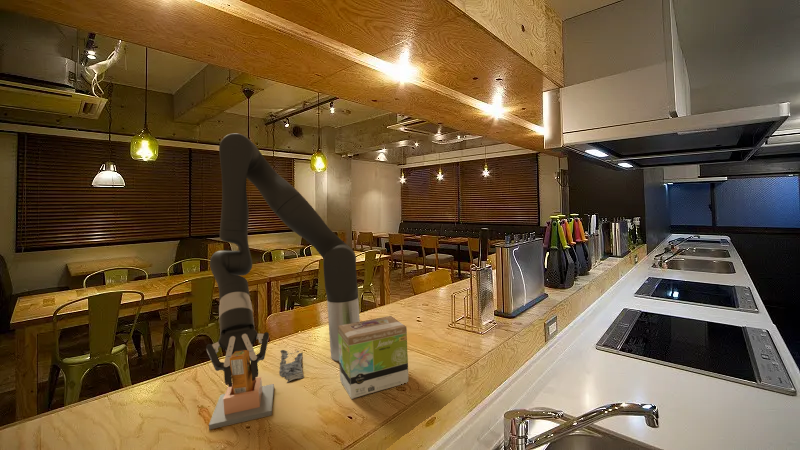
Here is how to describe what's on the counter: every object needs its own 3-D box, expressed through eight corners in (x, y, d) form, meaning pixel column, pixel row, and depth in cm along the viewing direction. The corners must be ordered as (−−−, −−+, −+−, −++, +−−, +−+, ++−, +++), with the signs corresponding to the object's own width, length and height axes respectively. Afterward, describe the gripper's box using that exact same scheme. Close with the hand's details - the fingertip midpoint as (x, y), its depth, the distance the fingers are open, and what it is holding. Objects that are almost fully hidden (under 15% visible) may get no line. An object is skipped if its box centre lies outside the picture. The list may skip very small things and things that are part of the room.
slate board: (274, 387, 83) (273, 383, 83) (271, 415, 72) (271, 410, 72) (220, 398, 79) (220, 394, 79) (209, 429, 68) (208, 424, 68)
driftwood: (304, 381, 86) (303, 374, 86) (276, 387, 84) (276, 379, 84) (303, 351, 106) (303, 344, 106) (281, 355, 104) (280, 348, 104)
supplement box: (238, 392, 77) (235, 350, 76) (253, 390, 77) (250, 349, 77) (232, 400, 74) (229, 356, 73) (248, 399, 74) (245, 355, 73)
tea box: (351, 401, 75) (347, 337, 74) (339, 381, 84) (336, 324, 84) (410, 383, 82) (407, 324, 81) (393, 366, 91) (390, 313, 90)
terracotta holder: (262, 391, 80) (261, 376, 80) (259, 407, 73) (258, 391, 73) (230, 397, 78) (229, 383, 77) (224, 414, 71) (223, 399, 71)
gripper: (202, 312, 78) (203, 385, 68) (267, 301, 84) (277, 367, 74) (204, 327, 83) (206, 398, 73) (265, 316, 89) (275, 379, 79)
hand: (242, 382), depth 74 cm, fingers closed on supplement box, 4 cm apart
